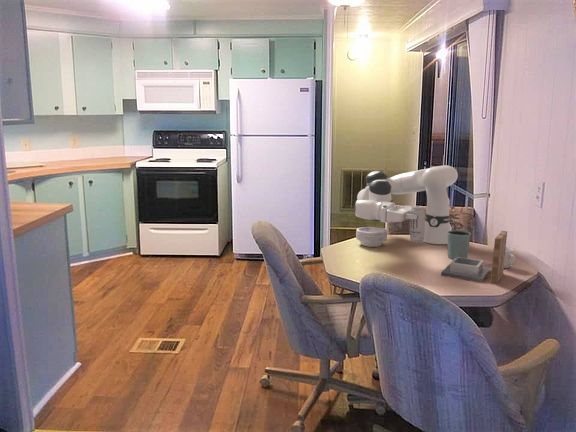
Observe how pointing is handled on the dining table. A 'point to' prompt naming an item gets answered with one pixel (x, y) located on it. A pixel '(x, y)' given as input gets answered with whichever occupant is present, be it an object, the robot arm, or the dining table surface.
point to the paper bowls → (371, 236)
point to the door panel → (498, 257)
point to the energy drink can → (417, 224)
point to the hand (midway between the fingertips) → (419, 215)
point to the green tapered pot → (458, 244)
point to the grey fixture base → (466, 269)
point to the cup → (509, 257)
